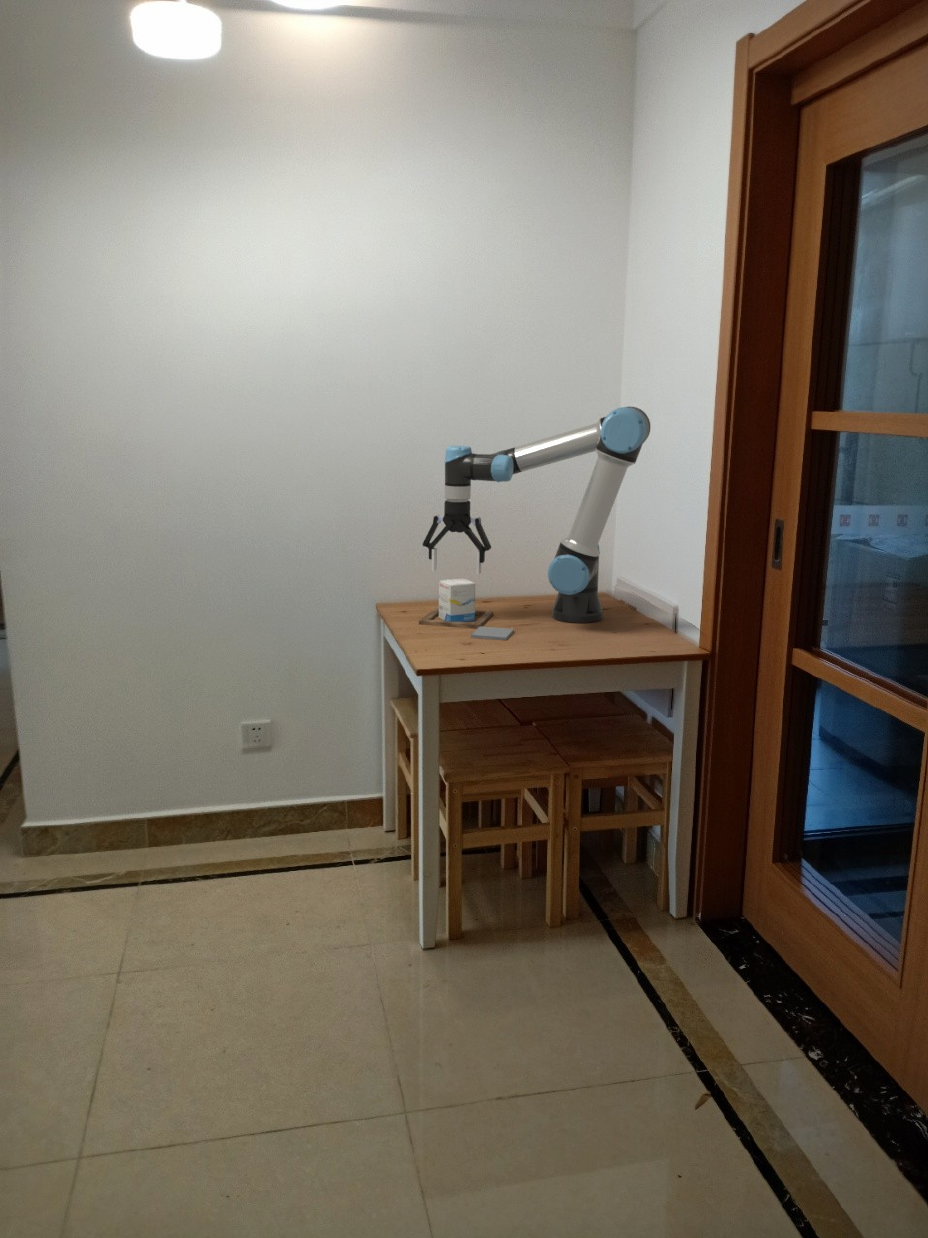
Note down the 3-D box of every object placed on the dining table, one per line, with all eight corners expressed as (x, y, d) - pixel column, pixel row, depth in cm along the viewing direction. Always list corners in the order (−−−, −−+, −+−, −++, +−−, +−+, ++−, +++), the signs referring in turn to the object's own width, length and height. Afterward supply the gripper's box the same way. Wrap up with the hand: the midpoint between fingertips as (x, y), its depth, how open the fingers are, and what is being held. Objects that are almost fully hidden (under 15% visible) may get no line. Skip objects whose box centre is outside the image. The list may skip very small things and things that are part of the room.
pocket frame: (493, 614, 308) (493, 611, 308) (478, 628, 291) (478, 625, 291) (436, 610, 312) (436, 607, 312) (418, 624, 296) (418, 620, 295)
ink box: (476, 621, 300) (476, 582, 297) (450, 624, 296) (450, 584, 293) (463, 615, 307) (463, 577, 305) (438, 617, 304) (438, 579, 301)
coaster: (514, 631, 288) (514, 628, 288) (506, 640, 278) (506, 637, 278) (479, 629, 290) (479, 626, 290) (470, 637, 281) (470, 634, 281)
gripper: (502, 500, 294) (500, 572, 299) (420, 496, 300) (419, 566, 305) (496, 503, 287) (494, 577, 292) (412, 499, 293) (411, 571, 298)
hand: (456, 572), depth 298 cm, fingers open, 13 cm apart
